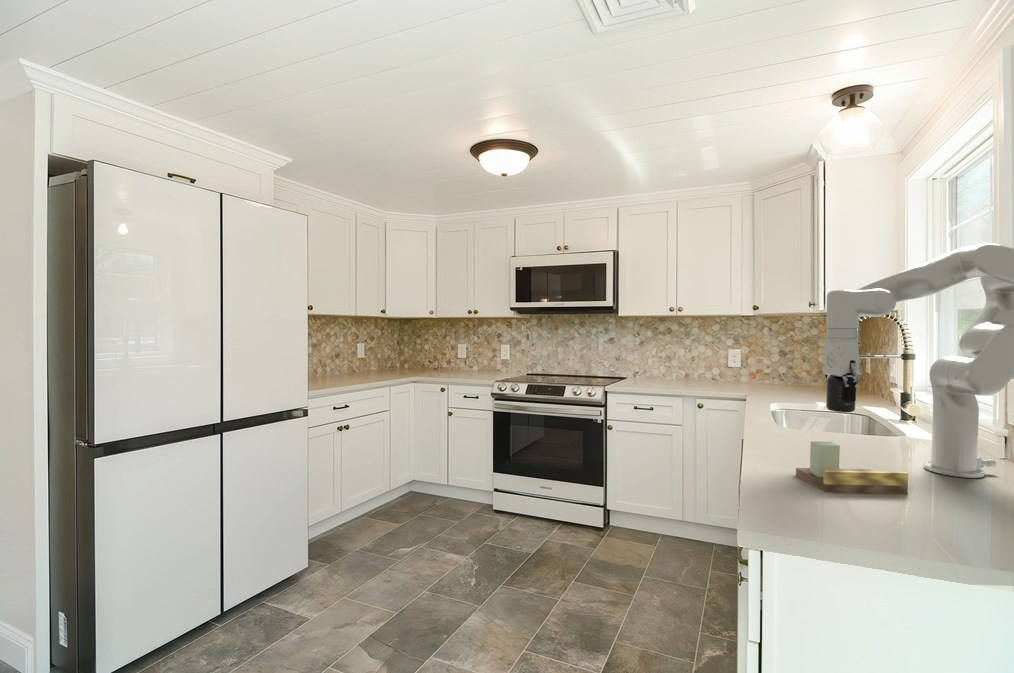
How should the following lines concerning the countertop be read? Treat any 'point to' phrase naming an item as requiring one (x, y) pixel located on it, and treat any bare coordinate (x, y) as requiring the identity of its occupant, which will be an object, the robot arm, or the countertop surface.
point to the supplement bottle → (837, 396)
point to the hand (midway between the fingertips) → (840, 398)
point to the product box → (824, 457)
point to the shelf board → (857, 481)
